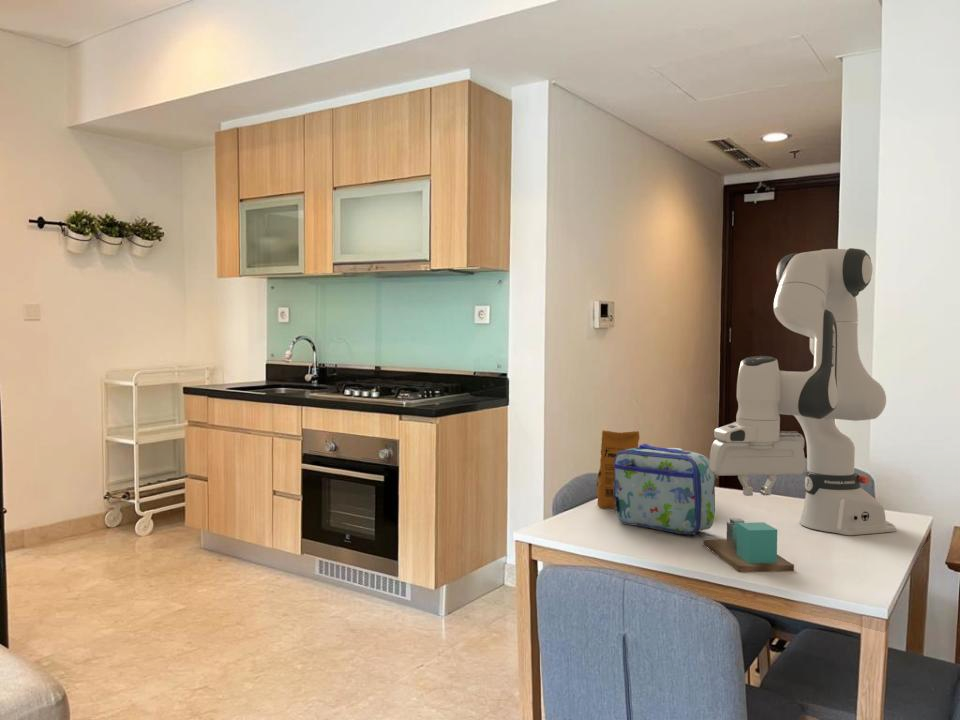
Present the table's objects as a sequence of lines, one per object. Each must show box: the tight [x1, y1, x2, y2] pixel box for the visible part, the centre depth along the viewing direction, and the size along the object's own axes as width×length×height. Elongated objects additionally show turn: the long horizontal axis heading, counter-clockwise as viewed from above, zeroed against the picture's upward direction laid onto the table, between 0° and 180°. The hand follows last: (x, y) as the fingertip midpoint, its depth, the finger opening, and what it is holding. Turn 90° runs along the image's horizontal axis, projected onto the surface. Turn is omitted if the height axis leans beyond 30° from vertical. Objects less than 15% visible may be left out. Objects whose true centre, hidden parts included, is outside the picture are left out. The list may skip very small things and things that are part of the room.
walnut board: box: [702, 538, 795, 573], centre depth 166 cm, size 12×20×1 cm, turn 4°
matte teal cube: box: [736, 521, 778, 563], centre depth 161 cm, size 6×6×7 cm
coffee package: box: [596, 429, 640, 509], centre depth 214 cm, size 10×12×22 cm
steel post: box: [726, 517, 745, 548], centre depth 171 cm, size 3×3×6 cm
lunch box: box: [613, 443, 716, 536], centre depth 191 cm, size 26×11×21 cm, turn 43°
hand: (756, 495), depth 160 cm, fingers open, 3 cm apart
